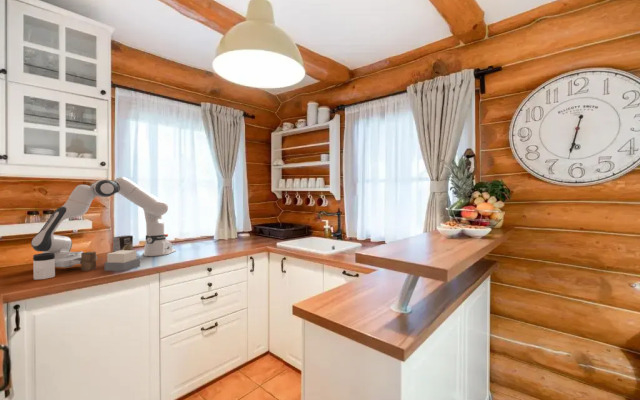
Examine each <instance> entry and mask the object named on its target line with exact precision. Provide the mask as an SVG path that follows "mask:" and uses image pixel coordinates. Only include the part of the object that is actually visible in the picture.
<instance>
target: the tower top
mask: <svg viewBox="0 0 640 400" xmlns="http://www.w3.org/2000/svg"><path fill="white" fill-rule="evenodd" d="M137 252H138V251H137V250H134V249H133V250H120V251H116V252H113V251H112V252H108V253H107V254H106V256H107V257H106V258H107V260H106V262H110V263H125V262H128V261H131V260H134V259H137V258H138V257H137V255H138V253H137Z"/></svg>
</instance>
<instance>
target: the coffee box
mask: <svg viewBox="0 0 640 400" xmlns="http://www.w3.org/2000/svg"><path fill="white" fill-rule="evenodd" d="M133 238H134V236H133V235H121V236H120V235H119V236H114V237H112V252H116V251H120V250H134V248H133V247H134V246H133V245H134V241H133V240H134V239H133Z"/></svg>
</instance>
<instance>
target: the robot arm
mask: <svg viewBox="0 0 640 400" xmlns="http://www.w3.org/2000/svg"><path fill="white" fill-rule="evenodd" d="M115 194H119V195H121V196H122V197H124V198H125V199H126V200H129V202H131V203H133V204H134V205H136V206H138V207H140V208H142V209H143V213H144V218H145V226H146V231H145V233H146V235H145V243H144V250H143V253H142V254H143V256H145V257H157V256H165V255H169V254H172V253H174V252H176V251H177V249H175V248H173V244H172V242H170V241H169V240H167V238H168V237H169V234H168V233H165V223H164V220H163V215H165V214H166V213H167V212H168V209H169V206H168V205H167V204H166V202H164V201H163V200H161V199H160V198H158V197H156V196H155V195H153V194H151V193H149V192H147V191H146V190H145V189H143V188H142V187H141V186H139V185H138V184H137V183H135V182H133V181H132V180H130V179H128V178H126V177H125V176H120V177H116V179H114V180H110V179H99V180H96V181H94V182H92V184H90V185H88V184H78V185H76V187H75V188H74V189H73V190H72V191H71V194H70V195H69V197H68V199H67V200H66V202H65V203H64V204H63V205H62V206H60V207H58V208H56V209H55V210H54V212H52V214H51V215H50V217H48V219H47V221H46V222H45V224H44V225H43V227H41V229H40V230H39V231H38V233H37V234H35V235H34V236H33V238H32V240H31V242H30V244H31V247H32V249H34V251H36V252H41V253H55V268H71V267H73V266H75V265H81V263H82V260H81V253H84V251H83V250H79V251H71V250H72V248H73V240H72V239H71V237H69V236H65V235H57V234H55V232H56V230H57V229H58V228H59V226H60V225H61V223H62V222H63V221H65V220H68V219H73V218H78V217H81V216H84V215H86V213H87V212H88V210H89V209H90V206H91V205H92V202H93V201H94V199H95V198H97V197H100V198H109V197H112V196H114V195H115ZM97 260H98V257H97V256H96V261H97Z"/></svg>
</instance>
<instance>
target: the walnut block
mask: <svg viewBox="0 0 640 400" xmlns="http://www.w3.org/2000/svg"><path fill="white" fill-rule="evenodd" d="M83 252H84V251H83ZM96 257H97V252H96V251H86V252H84V253H81V260H82V263H81V264H80V265H81V268H80V269H81V271H82V272H91V271H94V270H96V269H97V260H96Z"/></svg>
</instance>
